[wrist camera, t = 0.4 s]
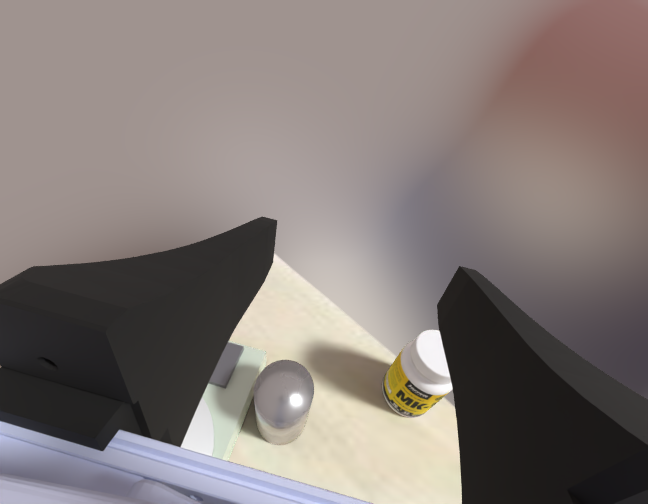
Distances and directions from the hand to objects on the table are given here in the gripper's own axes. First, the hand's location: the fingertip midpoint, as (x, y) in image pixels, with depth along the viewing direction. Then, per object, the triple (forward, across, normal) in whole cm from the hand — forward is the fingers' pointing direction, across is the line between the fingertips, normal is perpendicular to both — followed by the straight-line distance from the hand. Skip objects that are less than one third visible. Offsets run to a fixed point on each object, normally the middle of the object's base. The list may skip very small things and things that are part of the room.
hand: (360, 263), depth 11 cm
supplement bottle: (+8, -9, +19) cm, 22 cm away
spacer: (+3, +2, +20) cm, 20 cm away
